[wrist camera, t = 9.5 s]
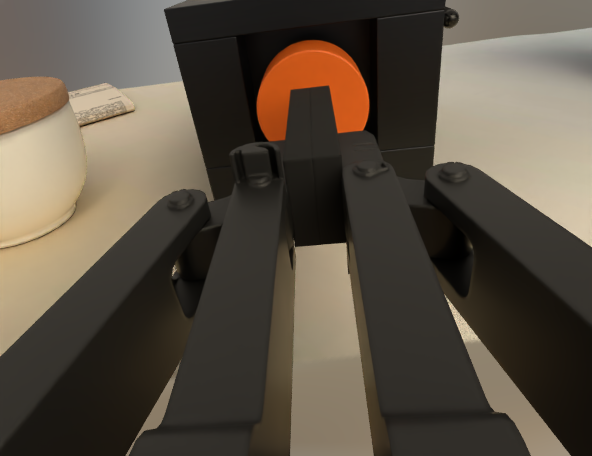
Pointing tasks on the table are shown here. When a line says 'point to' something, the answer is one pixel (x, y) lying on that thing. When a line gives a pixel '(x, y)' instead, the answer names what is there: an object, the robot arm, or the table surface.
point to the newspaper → (98, 103)
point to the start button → (312, 73)
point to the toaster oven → (299, 27)
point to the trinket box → (38, 158)
